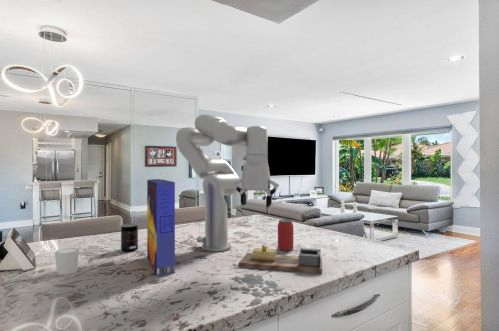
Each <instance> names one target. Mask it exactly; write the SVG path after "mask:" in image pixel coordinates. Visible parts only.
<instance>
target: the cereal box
mask: <svg viewBox="0 0 499 331" xmlns="http://www.w3.org/2000/svg"><path fill="white" fill-rule="evenodd" d="M146 182H147V183H146V186H147V187H146V190H147V198H146V200H147V203H146V207H147V210H146V212H147V214H146V215H147V218H146V222H147V223H146V224H147V226H146V228H147V230H146V231H147V232H146V234H147V235H146V237H147V238H146V240H147V242H146V243H147V244H146V245H147V259H148V261H149V264H150V266H151V268H152V270H153V273H154V274H155V276H156V277H157V276H164V275H171V274H175V273H176V202H175V201H176V199H175V198H176V195H175V194H176V182H175V181H170V180H166V179H160V178H158V179H157V178H156V179H155V178H154V179H147V180H146Z"/></svg>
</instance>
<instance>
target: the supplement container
mask: <svg viewBox="0 0 499 331" xmlns="http://www.w3.org/2000/svg"><path fill="white" fill-rule="evenodd" d="M138 249H139V224H138V223H125V224H122V225H120V250H121V252H123V253H133V252H136V251H138Z"/></svg>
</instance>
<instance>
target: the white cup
mask: <svg viewBox="0 0 499 331" xmlns="http://www.w3.org/2000/svg"><path fill="white" fill-rule="evenodd" d="M79 254H80V249H79V248H76V247H75V248H73V247H71V248H64V249H60V250H57V251H56V250H55V252H54V257H55V266H56V274H57V275H58V276H61V275H62V276H66V275H71V274H74V273H76V272H78V271H77V270H78V263H79Z"/></svg>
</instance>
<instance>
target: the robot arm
mask: <svg viewBox="0 0 499 331" xmlns="http://www.w3.org/2000/svg"><path fill="white" fill-rule="evenodd" d="M267 132H268V131H267V128H266V127H265V126H260V125H251V126H248V127H242V126H235V125H234V126H232V125H229V124H228V122H227V121H226V120H225V119H224V118H223V117H221V116H219V115H211V114H200V115H198V116H197V117H196V118H195V121H194V127H191V126H190V127H189V126H188V127H181V128H180V129H178V131H177V132H176V136H175V143H176V147H177V149H178V151H179V152H180V153H181V155H182V156H183V157H184V159H185V160H186V161H187V162H188V164H189V165H190V167H191V168H192V169H193V171H194V173H195V174H196V175H197V177H198V178H200V179H202V180H203V181H202V191H203V197H204V211H205V212H204V218H205V220H204V223H205V224H204V226H205V227H204V234H205V235H204V237H203V236H197V238H196V242H197V243H202V244H201V249H202V250H204V251H206V252H223V251H228V250H230V249H231V248H232V244H231V243H230V242H228V239H229V238H228V236H229V235H228V234H229V233H228V231H229V230H228V203H227V201H226V199H225V197H224V196H232V195H236V194H238V193H239V195H240V203H241V206H245V205H247V192H248V191H255V192H256V191H257V192H264V193H266V196H265V200H266V201H265V206H266V208H269V207H271V205H272V201H273V198H272V196H273V195H274V194H275V193H276V192H277V190H278V188H279V186H280V183H278V182H276V181H274V180H273V179H271V173H270V166H269V163H267V147H268V146H267V142H268V140H267V139H268V138H267V136H268V135H267ZM215 141H216V142H217V143H219V144H222V145H225V146H226V147H241V148H246V149H245V151H246V154H245V156H243V157H242V160H243V161H245V163H244V164H243V167H242V173H241V174H242V175H241V178H240V177H239V174H237V173H236V172H235V170H234V168H232V166H231V165H230V164H229V163H228V162H227V161H226V160H225V159H221V158H216V157H215V158H211V157H209V156H208V155H207V154H206V152H205V151H203V149H201V148H200V147H208V146H210V145H212V144H213V143H214V142H215ZM271 185H272V186H273V188H272V189H270V188H271Z"/></svg>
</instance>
